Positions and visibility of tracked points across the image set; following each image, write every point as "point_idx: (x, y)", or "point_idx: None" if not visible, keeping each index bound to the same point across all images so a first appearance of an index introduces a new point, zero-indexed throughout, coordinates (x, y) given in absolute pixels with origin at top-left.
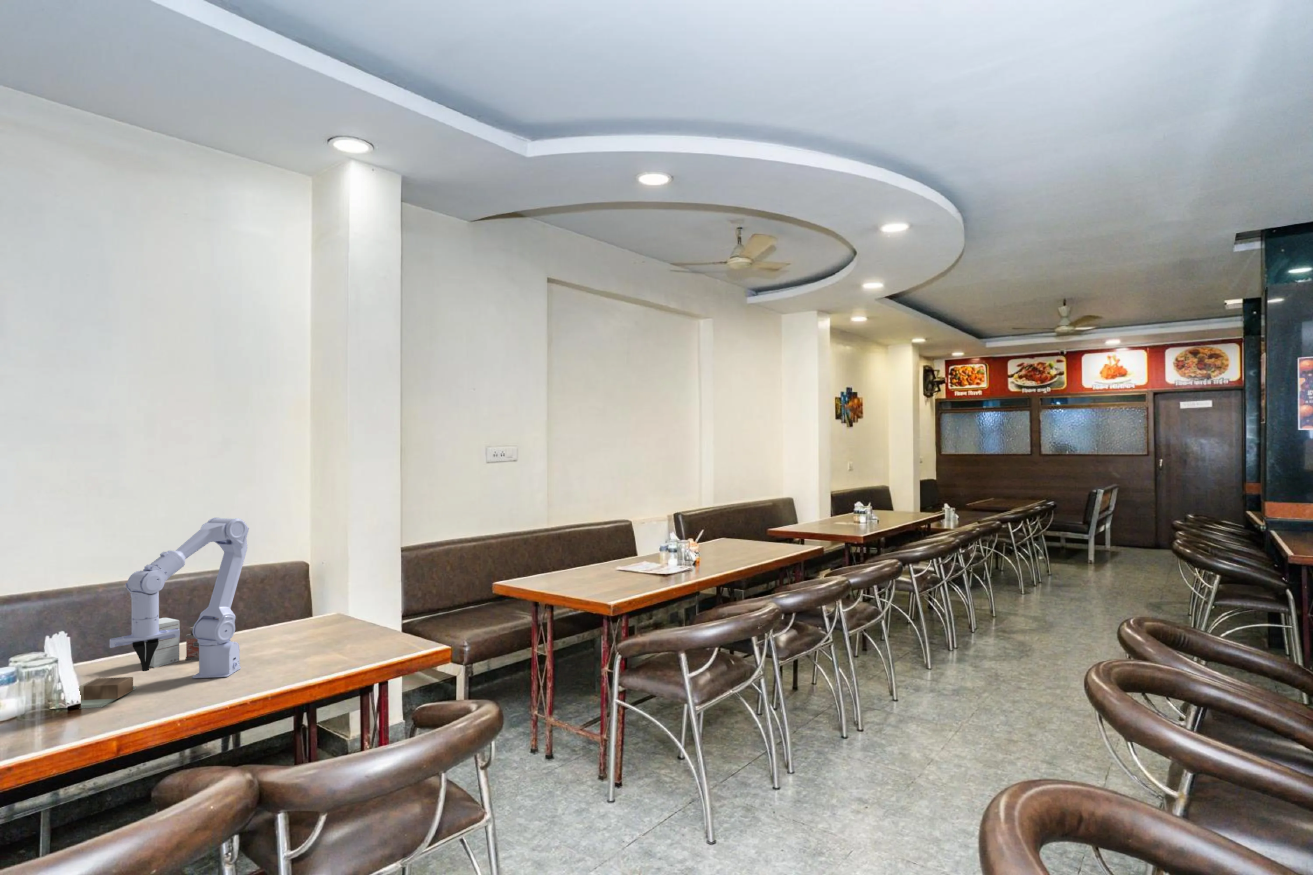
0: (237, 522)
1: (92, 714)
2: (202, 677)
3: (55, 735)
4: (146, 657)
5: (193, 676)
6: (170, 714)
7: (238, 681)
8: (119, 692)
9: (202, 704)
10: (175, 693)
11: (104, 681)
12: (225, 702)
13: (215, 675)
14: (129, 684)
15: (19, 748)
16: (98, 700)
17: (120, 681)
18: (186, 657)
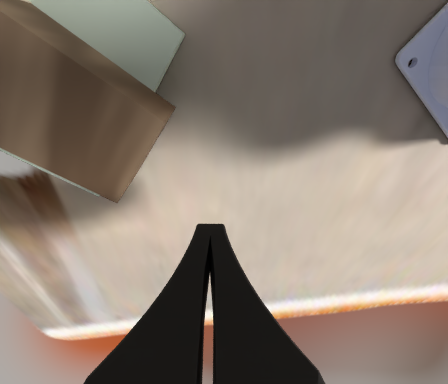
0: None
1: (97, 231)
2: (415, 91)
3: (66, 293)
4: (213, 300)
5: (404, 58)
6: None
7: (428, 206)
8: (134, 176)
9: (292, 291)
10: (280, 200)
11: (32, 105)
12: (321, 300)
13: (445, 118)
14: (157, 136)
15: (30, 311)
16: None
17: (118, 162)
18: None
